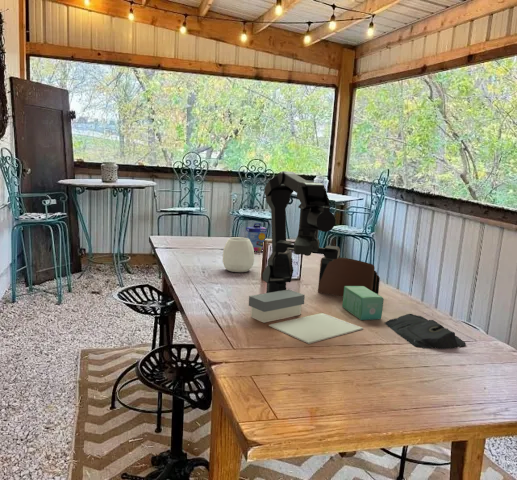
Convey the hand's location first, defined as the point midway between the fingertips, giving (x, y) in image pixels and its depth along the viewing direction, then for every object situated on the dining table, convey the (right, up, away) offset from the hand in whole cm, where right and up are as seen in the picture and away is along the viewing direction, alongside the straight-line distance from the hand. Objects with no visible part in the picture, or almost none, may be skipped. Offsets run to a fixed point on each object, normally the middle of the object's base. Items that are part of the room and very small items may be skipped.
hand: (304, 277), depth 149 cm
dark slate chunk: (+33, -16, -6) cm, 37 cm away
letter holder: (+19, -9, +33) cm, 39 cm away
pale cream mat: (+3, -14, -6) cm, 15 cm away
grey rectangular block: (-8, -8, +3) cm, 12 cm away
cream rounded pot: (-22, -2, +61) cm, 65 cm away
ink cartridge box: (-16, +5, +107) cm, 108 cm away
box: (+19, -12, +11) cm, 25 cm away
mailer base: (-8, -12, +3) cm, 15 cm away
